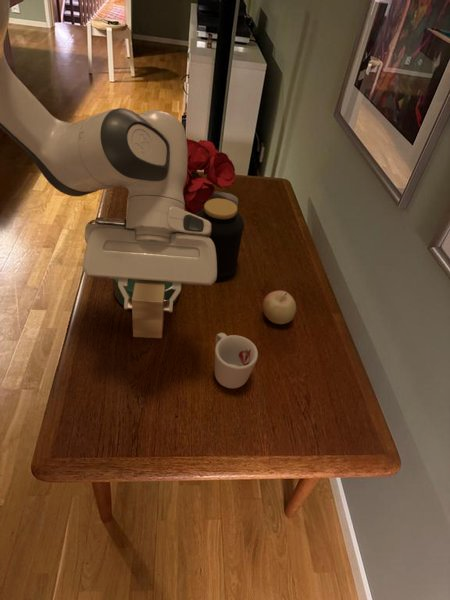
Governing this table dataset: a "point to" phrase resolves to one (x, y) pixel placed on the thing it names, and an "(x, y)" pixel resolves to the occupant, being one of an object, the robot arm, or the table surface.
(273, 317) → the fruit
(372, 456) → the table surface
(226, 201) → the container
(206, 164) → the bouquet
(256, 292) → the table surface
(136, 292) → the plain beige block
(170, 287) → the green pet bowl
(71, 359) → the table surface
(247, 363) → the cup
